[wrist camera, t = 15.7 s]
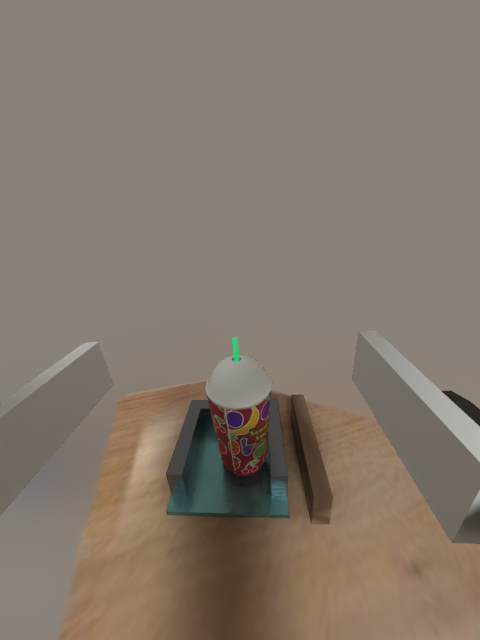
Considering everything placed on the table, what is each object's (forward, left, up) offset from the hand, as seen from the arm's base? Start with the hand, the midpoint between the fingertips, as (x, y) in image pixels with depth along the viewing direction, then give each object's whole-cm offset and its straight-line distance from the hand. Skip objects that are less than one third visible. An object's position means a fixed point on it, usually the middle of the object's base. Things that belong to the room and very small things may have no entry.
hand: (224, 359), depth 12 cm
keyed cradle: (+3, -14, -26) cm, 30 cm away
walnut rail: (-8, -14, -26) cm, 31 cm away
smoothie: (+1, -13, -26) cm, 29 cm away
